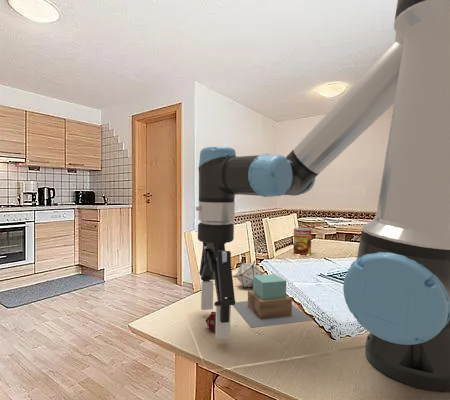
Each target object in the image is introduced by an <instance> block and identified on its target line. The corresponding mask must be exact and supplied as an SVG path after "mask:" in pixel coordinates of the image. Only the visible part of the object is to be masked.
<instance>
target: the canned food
mask: <svg viewBox="0 0 450 400" xmlns="http://www.w3.org/2000/svg"><path fill="white" fill-rule="evenodd" d="M294 254H300V255H307V254H311V255H312V229H311V228H309V227H295V228H293V255H294Z"/></svg>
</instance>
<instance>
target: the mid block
mask: <svg viewBox="0 0 450 400" xmlns="http://www.w3.org/2000/svg"><path fill="white" fill-rule="evenodd" d="M252 290H253V292H254V293H255V294H256V295H257V296H259V297H260V298H261V299H262V300H268V299H277V298H286V295H287V280H286V279H284V278H282V277H280V276H279V275H277V274H276V273H271V274H262V275H257V276H253V287H252Z"/></svg>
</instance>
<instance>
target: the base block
mask: <svg viewBox="0 0 450 400" xmlns="http://www.w3.org/2000/svg"><path fill="white" fill-rule="evenodd" d="M247 301H248V307H249V308H250V309H251V310H252V311H253V312H254V313H255V314H256V316H257V317H258V318H259V319H267V318H275V317H283V316H292V305H293V299H292V297H290V296H289V295H287V294H286V298H277V299H268V300H262V299H261V298H260V297H259V296H257V295H256V294H255V293H254V292H253V289H252V290H247Z"/></svg>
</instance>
